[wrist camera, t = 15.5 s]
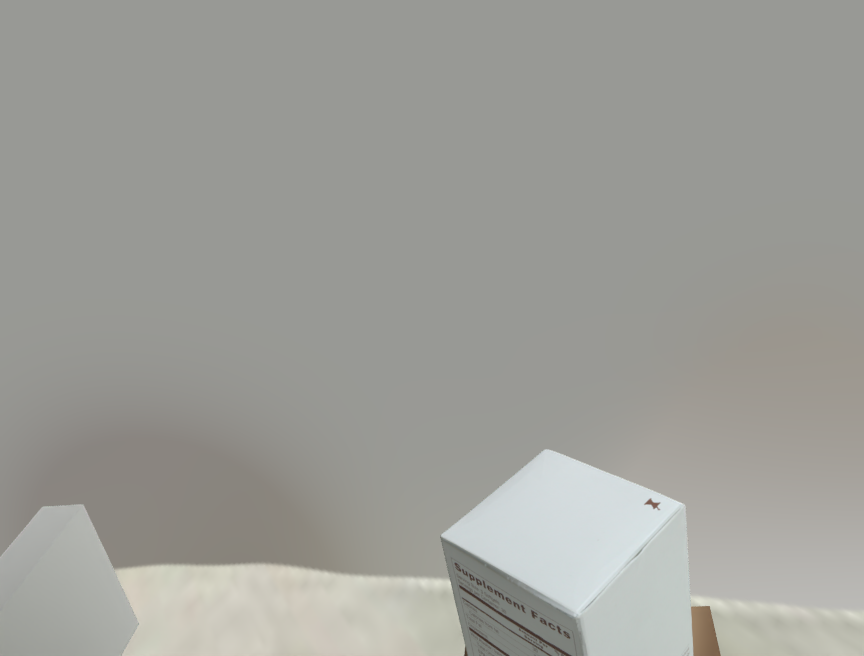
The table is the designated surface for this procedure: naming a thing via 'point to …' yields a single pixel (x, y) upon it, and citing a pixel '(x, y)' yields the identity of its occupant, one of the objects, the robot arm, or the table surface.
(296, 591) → the table surface
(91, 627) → the robot arm
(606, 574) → the supplement box
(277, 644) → the table surface
